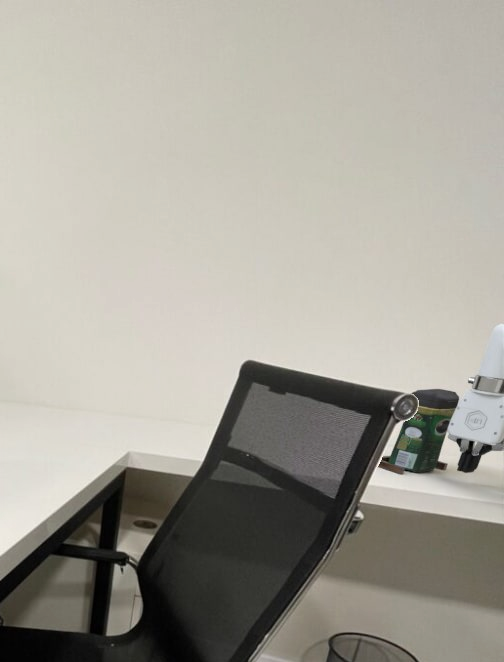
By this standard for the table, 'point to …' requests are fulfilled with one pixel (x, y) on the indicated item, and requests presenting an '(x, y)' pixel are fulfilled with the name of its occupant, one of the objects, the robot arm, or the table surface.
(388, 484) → the table surface
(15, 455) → the table surface
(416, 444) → the coffee jar
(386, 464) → the walnut bay
